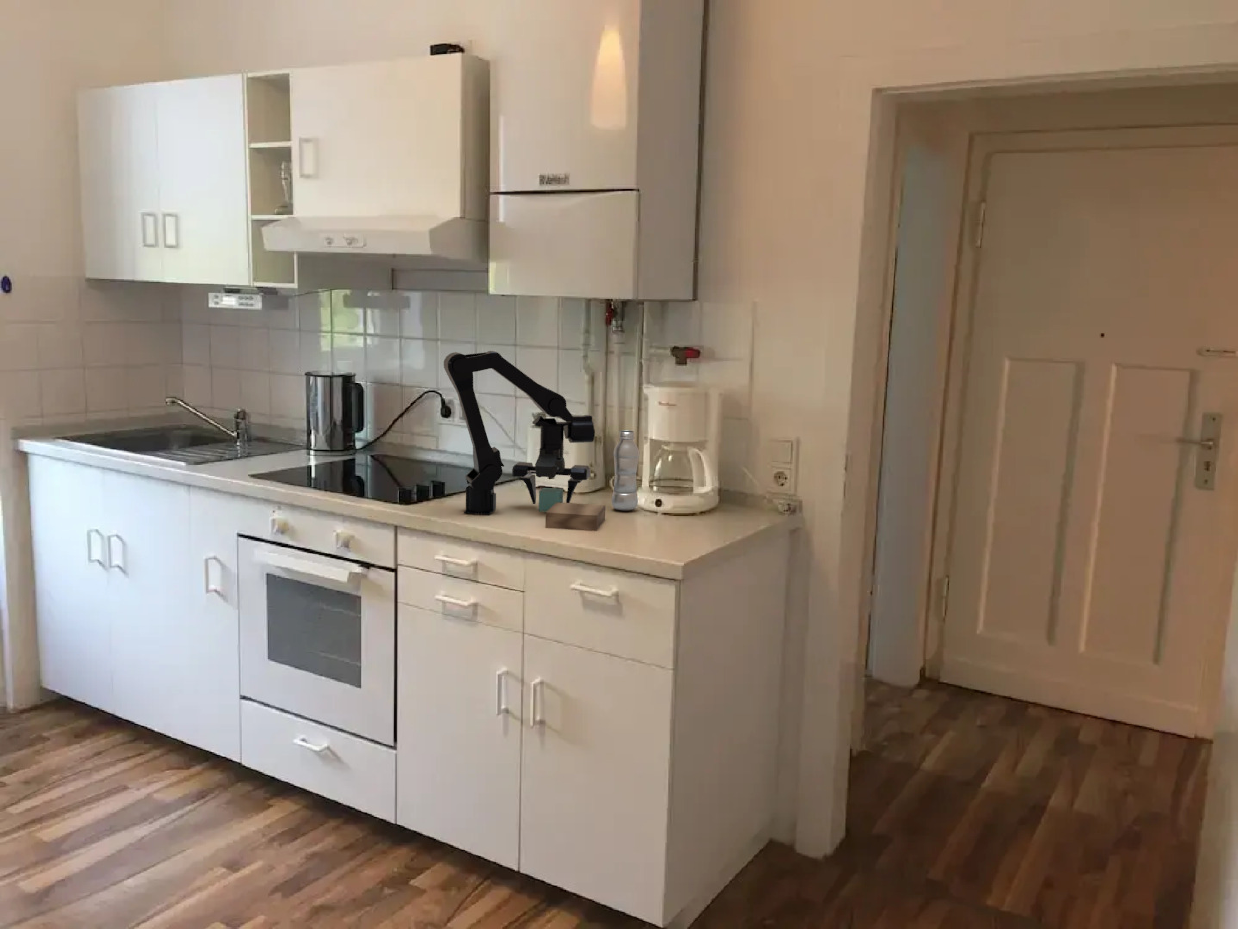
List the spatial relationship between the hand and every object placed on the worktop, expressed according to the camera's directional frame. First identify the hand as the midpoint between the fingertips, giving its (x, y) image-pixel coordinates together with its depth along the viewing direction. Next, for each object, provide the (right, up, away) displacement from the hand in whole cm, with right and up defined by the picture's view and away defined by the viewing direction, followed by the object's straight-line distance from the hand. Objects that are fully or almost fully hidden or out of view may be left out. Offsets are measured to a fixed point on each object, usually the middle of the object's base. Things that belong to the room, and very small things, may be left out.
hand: (550, 505), depth 261 cm
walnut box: (+7, -4, -15) cm, 17 cm away
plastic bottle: (+18, -2, +2) cm, 18 cm away
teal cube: (0, -1, 0) cm, 1 cm away
